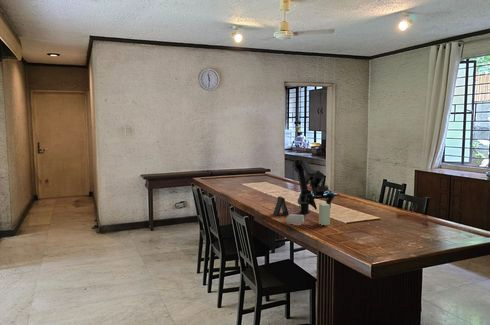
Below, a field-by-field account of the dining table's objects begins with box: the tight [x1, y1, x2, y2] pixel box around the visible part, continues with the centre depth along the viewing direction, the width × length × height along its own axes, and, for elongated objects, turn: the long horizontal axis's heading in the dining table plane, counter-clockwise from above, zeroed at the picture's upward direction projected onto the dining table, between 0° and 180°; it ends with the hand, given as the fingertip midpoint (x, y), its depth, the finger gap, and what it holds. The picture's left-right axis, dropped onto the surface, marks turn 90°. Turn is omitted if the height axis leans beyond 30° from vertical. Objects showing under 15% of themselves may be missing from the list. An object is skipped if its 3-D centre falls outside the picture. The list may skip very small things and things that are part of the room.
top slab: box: [285, 213, 305, 223], centre depth 244 cm, size 9×9×2 cm
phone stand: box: [273, 196, 289, 217], centre depth 266 cm, size 9×6×12 cm, turn 108°
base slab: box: [285, 218, 305, 226], centre depth 244 cm, size 9×9×2 cm
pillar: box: [318, 203, 331, 226], centre depth 241 cm, size 5×5×12 cm
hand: (323, 208), depth 242 cm, fingers open, 9 cm apart
